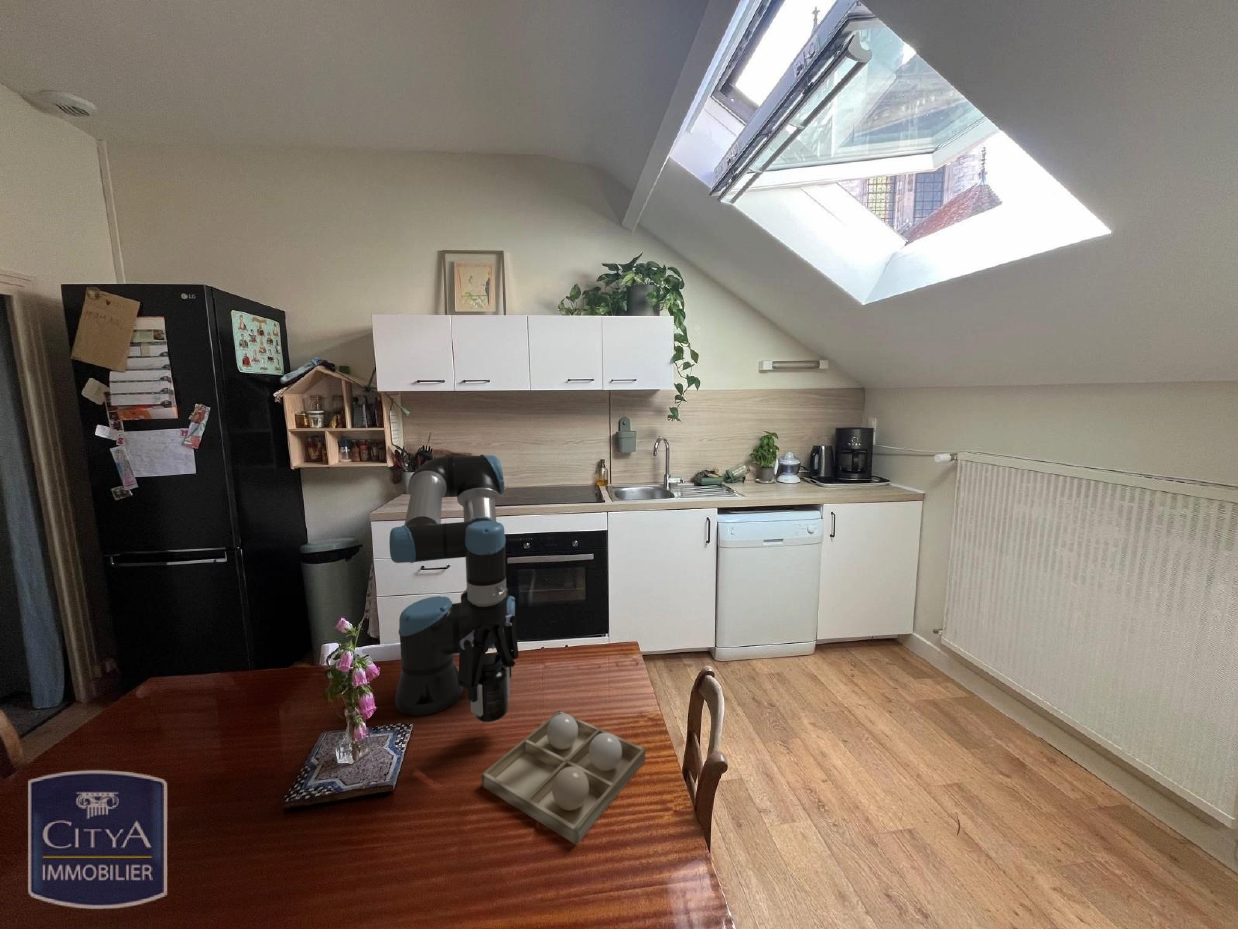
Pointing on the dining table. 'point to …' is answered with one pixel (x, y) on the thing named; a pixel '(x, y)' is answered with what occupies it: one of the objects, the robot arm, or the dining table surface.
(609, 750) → the egg
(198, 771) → the dining table surface
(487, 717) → the supplement bottle
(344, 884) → the dining table surface
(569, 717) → the egg
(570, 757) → the crate
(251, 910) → the dining table surface
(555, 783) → the egg
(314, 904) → the dining table surface
